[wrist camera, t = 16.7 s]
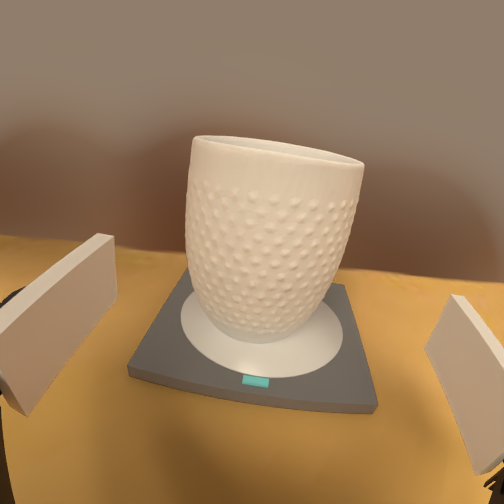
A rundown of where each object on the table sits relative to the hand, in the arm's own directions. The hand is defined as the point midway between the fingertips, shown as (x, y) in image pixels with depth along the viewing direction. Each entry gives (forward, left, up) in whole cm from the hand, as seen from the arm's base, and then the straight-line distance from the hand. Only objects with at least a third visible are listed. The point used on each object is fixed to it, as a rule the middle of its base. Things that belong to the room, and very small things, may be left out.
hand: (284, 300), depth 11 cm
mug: (0, +11, -9) cm, 14 cm away
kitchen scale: (0, +11, -10) cm, 15 cm away
